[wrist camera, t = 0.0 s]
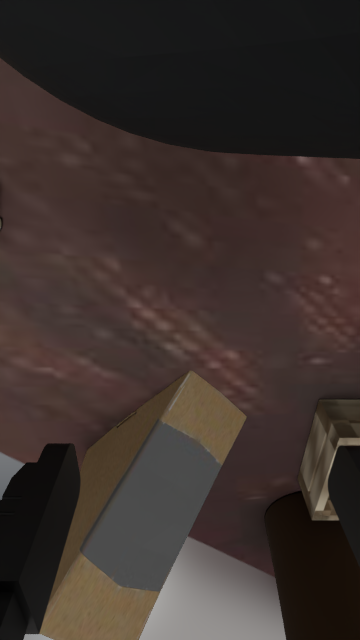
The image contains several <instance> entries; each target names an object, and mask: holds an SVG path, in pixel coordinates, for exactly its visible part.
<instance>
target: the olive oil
mask: <svg viewBox="0 0 360 640" xmlns="http://www.w3.org/2000/svg"><path fill="white" fill-rule="evenodd" d="M265 525H266V531H267V536H268V541H269V546H270V551H271V556H272V562H273V567H274V572H275V578H276V583H277V589H278V595H279V600H280V606H281V611H282V617H283V623H284V629H285V635H286V640H360V567H359V565H358V562H357V560H356V558H355V555H354V553H353V551H352V549H351V546H350V544H349V542H348V539H347V537H346V535H345V532H344V530H343V528H342V525H341V523H340V521H339V520H312V519H311V516H310V513H309V510H308V508H307V505H306V502H305V499H304V496H303V493H302V492H300V493H295V494H291V495H288V496H286V497H283V498H281V499H279V500H278V501H276V502H275V503H274V504H272V505H271V506H270V508H269V509H268V510H267V512H266V515H265Z"/></svg>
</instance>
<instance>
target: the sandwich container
mask: <svg viewBox="0 0 360 640" xmlns="http://www.w3.org/2000/svg"><path fill="white" fill-rule="evenodd" d="M135 412H137V413H136V414H134V413H135ZM135 412H133V413H132V414H133V415H132V414H131V415H132V416H131V415H129V416H128V417H130V416H131V417H130V418H128V417H127V418H128V419H127V418H125V419H124V420H126V419H127V420H126V421H124V420H123V421H124V422H123V421H121V422H120V423H119V424H118V425H117V426H119V425H120V424H121V423H122V422H123V423H122V424H121V425H120V426H119V427H118V428H117V426H115V427H114V428H112V429H111V430H110V431H109V432H108V433H107V434H105V435H104V436H103V437H102V438H101V439H100V440H98V441H97V442H96V443H95V444H94V445H93V446H91V447H90V448H89V449H88V450H87V452H86V455H85V458H84V461H83V464H82V467H81V471H80V479H81V485H80V494H79V498H78V502H77V506H76V509H75V513H74V516H73V519H72V523H71V526H70V530H69V533H68V537H67V540H66V544H65V547H64V550H63V554H62V557H61V561H60V564H59V568H58V571H57V575H56V578H55V582H54V585H53V588H52V592H51V595H50V599H49V602H48V606H47V609H46V613H45V616H44V620H43V623H42V626H41V630H40V633H39V634H42V635H44V636H46V637H49V638H52V639H54V640H139V638H140V635H141V633H142V631H143V629H144V627H145V624H146V622H147V620H148V618H149V615H150V613H151V611H152V609H153V607H154V604H155V602H156V600H157V598H158V595H159V593H160V591H161V589H162V587H163V585H164V583H165V581H166V579H167V577H168V574H169V572H170V570H171V568H172V566H173V564H174V562H175V560H176V558H177V556H178V554H179V552H180V550H181V548H182V546H183V544H184V542H185V540H186V538H187V536H188V534H189V532H190V530H191V528H192V526H193V524H194V522H195V519H196V517H197V515H198V513H199V511H200V509H201V507H202V505H203V503H204V501H205V499H206V497H207V495H208V493H209V491H210V489H211V487H212V485H213V483H214V481H215V479H216V477H217V475H218V473H219V471H220V468H221V466H222V464H223V463H224V461H225V459H226V457H227V455H228V453H229V451H230V449H231V447H232V445H233V443H234V441H235V439H236V437H237V435H238V433H239V432H240V430H241V428H242V426H243V424H244V422H245V420H246V418H247V417H246V416H245V415H244V414H243V413H242V412H241V411H240V410H239V409H238V408H237V407H236V406H235V405H233V404H232V403H231V402H230V401H229V400H228V399H227V398H226V397H225V396H224V395H223V394H221V393H220V392H219V391H217V390H216V389H215V388H214V387H212V386H211V385H210V384H208V383H207V382H206V381H205V380H203V379H202V378H201V377H200V376H198V375H197V374H196V373H194V372H193V371H189V372H187V373H186V374H185V375H183V376H182V377H181V378H179V379H178V380H177V381H175V382H174V383H172V384H171V385H170V386H168V387H167V388H166V389H164V390H163V391H161V392H160V393H159V394H157V395H156V396H155V397H153V398H152V399H150V400H149V401H148V402H146V403H145V404H144V405H142V406H141V407H139V408H138V409H137V410H136V411H135Z"/></svg>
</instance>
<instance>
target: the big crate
mask: <svg viewBox="0 0 360 640" xmlns="http://www.w3.org/2000/svg"><path fill="white" fill-rule="evenodd" d="M341 445H354V446H360V400H340V399H319V402H318V406H317V409H316V413H315V417H314V420H313V424H312V428H311V431H310V435H309V438H308V442H307V446H306V449H305V453H304V457H303V460H302V464H301V468H300V471H299V475H298V481H299V484H300V487H301V490H302V493H303V496H304V499H305V502H306V505H307V508H308V510H309V513H310V516H311V519H312V520H339V518H338V516H337V514H336V512H335V509H334V507H333V505H332V502H331V500H330V497H329V492H328V477H329V474H330V471H331V467H332V464H333V461H334V457H335V454H336V451H337V448H338V447H339V446H341Z"/></svg>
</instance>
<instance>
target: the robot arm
mask: <svg viewBox="0 0 360 640" xmlns="http://www.w3.org/2000/svg"><path fill="white" fill-rule="evenodd" d="M0 58H1V59H3V60H4V61H5V62H6V63H8V64H9V65H10V66H12V67H13V68H14V69H15V70H17V71H18V72H19V73H21V74H22V75H23V76H24V77H26V78H28V79H29V80H31V81H32V82H34V83H35V84H37V85H38V86H40V87H41V88H43V89H44V90H46V91H47V92H49V93H50V94H52V95H53V96H55V97H57V98H58V99H60V100H61V101H63V102H65V103H67V104H69V105H71V106H73V107H75V108H76V109H78V110H80V111H82V112H84V113H86V114H88V115H90V116H92V117H94V118H95V119H98V120H100V121H102V122H105V123H107V124H110V125H112V126H115V127H117V128H119V129H122V130H124V131H127V132H129V133H132V134H136V135H139V136H142V137H146V138H149V139H153V140H156V141H159V142H163V143H166V144H170V145H176V146H181V147H187V148H193V149H198V150H204V151H211V152H223V153H239V154H257V155H278V156H303V157H328V158H353V159H360V0H0ZM80 485H81V479H80V472H79V467H78V462H77V456H76V451H75V446H74V444H47V445H46V446H45V447H44V449H43V451H42V453H41V456H40V458H39V460H38V462H37V463H26V464H25V465H24V466H23V467H22V468H21V469H20V470H19V471H18V472H17V473H16V474H15V475H14V476H13V477H12V478H11V480H10V482H9V484H8V486H7V488H6V490H5V492H4V494H3V496H2V500H0V640H23V639H24V635H25V634H39V633H40V630H41V626H42V623H43V620H44V616H45V613H46V609H47V606H48V602H49V599H50V595H51V592H52V588H53V585H54V582H55V578H56V575H57V571H58V568H59V564H60V561H61V557H62V554H63V550H64V547H65V544H66V540H67V537H68V533H69V530H70V526H71V523H72V519H73V516H74V513H75V509H76V506H77V502H78V498H79V494H80ZM328 492H329V497H330V500H331V502H332V505H333V507H334V509H335V512H336V514H337V516H338V518H339V521H340V523H341V525H342V528H343V530H344V532H345V535H346V537H347V539H348V542H349V544H350V546H351V549H352V551H353V553H354V555H355V558H356V560H357V562H358V565H359V567H360V446H354V445H341V446H339V447H338V448H337V451H336V454H335V457H334V461H333V464H332V467H331V471H330V474H329V477H328Z"/></svg>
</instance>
